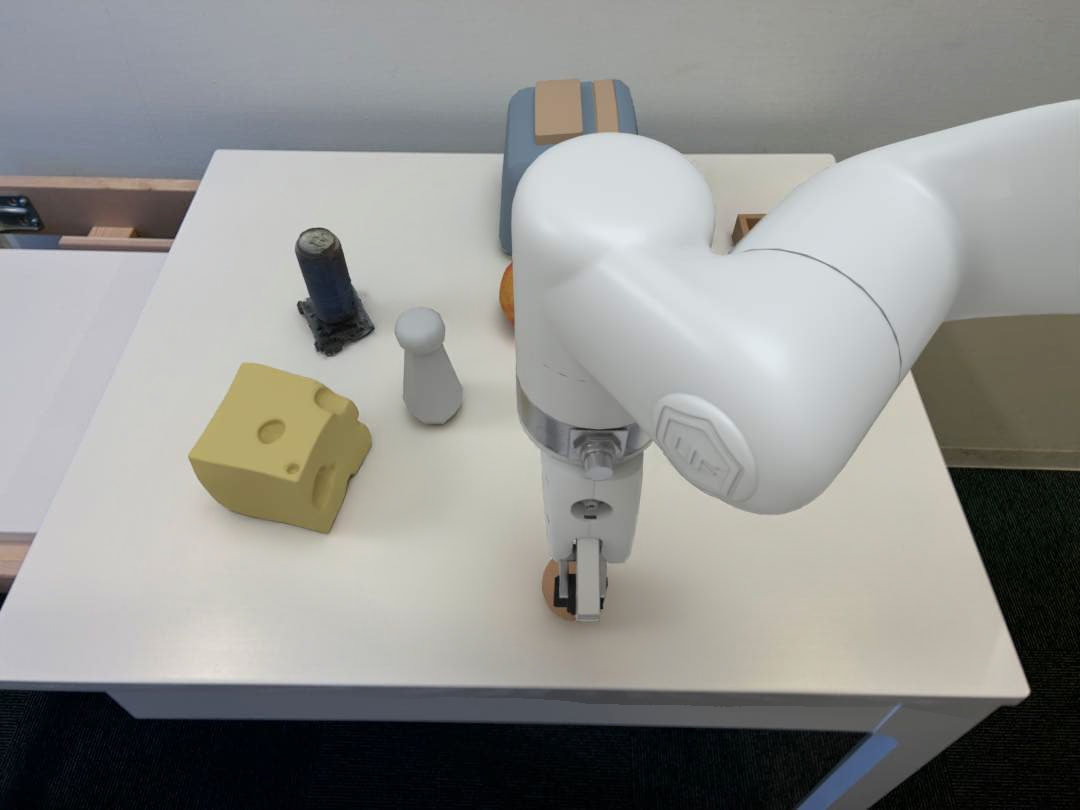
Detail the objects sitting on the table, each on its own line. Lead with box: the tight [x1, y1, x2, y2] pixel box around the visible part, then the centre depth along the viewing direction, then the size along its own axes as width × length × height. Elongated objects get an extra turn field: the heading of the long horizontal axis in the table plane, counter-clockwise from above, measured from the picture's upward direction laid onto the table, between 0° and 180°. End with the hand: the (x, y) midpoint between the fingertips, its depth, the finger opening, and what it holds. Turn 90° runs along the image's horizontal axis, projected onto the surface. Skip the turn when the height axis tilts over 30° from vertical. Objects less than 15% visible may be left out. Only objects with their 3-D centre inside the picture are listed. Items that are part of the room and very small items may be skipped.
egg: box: [541, 558, 577, 622], centre depth 55 cm, size 5×5×8 cm
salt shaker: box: [394, 306, 464, 425], centre depth 65 cm, size 6×6×13 cm
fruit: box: [498, 260, 515, 328], centre depth 74 cm, size 8×8×8 cm
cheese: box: [187, 362, 373, 534], centre depth 61 cm, size 10×11×10 cm
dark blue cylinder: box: [294, 227, 376, 356], centre depth 72 cm, size 9×8×12 cm
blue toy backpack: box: [498, 77, 639, 255], centre depth 80 cm, size 16×16×16 cm
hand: (575, 534), depth 48 cm, fingers open, 9 cm apart
